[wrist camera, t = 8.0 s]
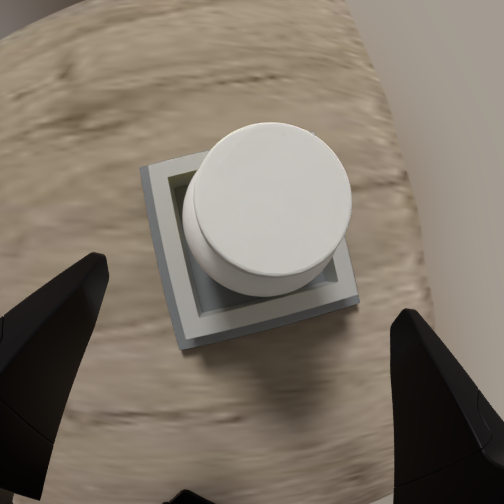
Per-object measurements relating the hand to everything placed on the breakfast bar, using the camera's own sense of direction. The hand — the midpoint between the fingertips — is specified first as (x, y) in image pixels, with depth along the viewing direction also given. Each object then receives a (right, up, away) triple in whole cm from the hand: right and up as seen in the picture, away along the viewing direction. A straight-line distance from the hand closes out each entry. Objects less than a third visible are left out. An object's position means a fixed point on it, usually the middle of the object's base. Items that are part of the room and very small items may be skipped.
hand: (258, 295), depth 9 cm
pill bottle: (0, +2, +11) cm, 11 cm away
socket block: (0, +2, +12) cm, 12 cm away
